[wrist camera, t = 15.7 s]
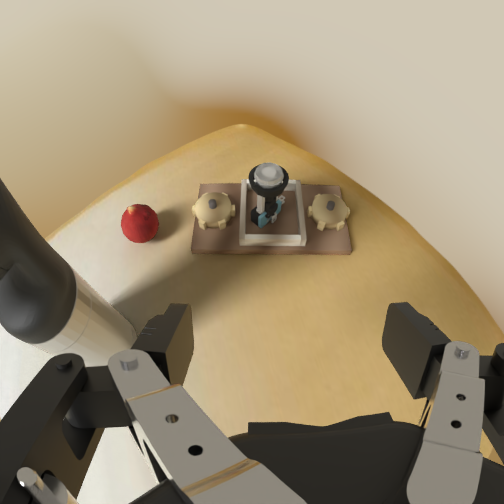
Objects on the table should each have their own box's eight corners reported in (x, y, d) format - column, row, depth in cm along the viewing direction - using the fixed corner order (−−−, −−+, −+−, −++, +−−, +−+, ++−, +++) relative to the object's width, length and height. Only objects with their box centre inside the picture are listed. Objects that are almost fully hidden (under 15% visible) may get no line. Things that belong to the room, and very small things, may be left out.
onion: (149, 216, 50) (136, 184, 43) (170, 235, 48) (158, 203, 41) (123, 238, 48) (106, 209, 41) (143, 259, 46) (126, 230, 39)
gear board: (190, 253, 47) (185, 238, 43) (199, 188, 53) (196, 171, 50) (351, 254, 46) (359, 240, 43) (339, 190, 53) (344, 174, 49)
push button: (271, 194, 51) (273, 148, 42) (296, 211, 49) (303, 166, 40) (242, 217, 48) (240, 172, 40) (267, 237, 47) (270, 193, 38)
